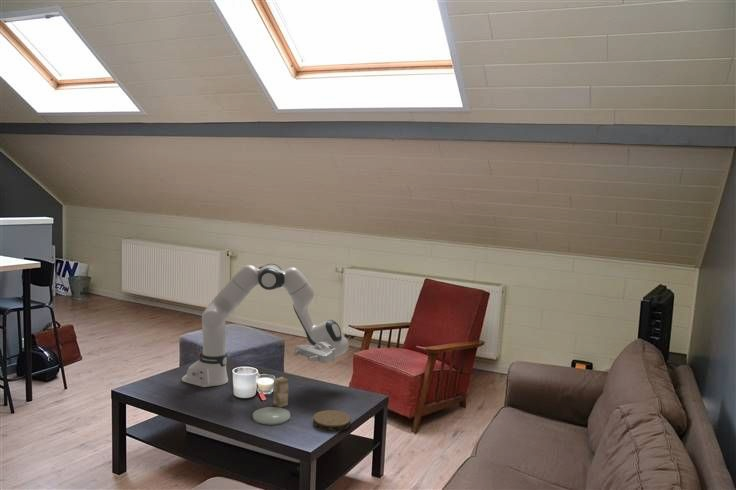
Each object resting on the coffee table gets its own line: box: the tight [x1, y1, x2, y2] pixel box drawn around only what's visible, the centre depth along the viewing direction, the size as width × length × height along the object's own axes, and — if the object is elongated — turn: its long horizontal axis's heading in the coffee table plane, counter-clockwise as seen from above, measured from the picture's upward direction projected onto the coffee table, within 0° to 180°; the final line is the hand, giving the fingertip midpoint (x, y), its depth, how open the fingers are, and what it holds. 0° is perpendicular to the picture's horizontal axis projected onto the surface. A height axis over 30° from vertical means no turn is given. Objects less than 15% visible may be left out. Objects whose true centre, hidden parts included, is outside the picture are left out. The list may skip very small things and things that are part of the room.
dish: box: [252, 406, 291, 426], centre depth 256 cm, size 16×16×1 cm
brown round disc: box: [312, 409, 352, 433], centre depth 253 cm, size 16×16×3 cm
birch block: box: [272, 376, 290, 408], centre depth 269 cm, size 5×5×12 cm
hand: (301, 356), depth 277 cm, fingers open, 8 cm apart
